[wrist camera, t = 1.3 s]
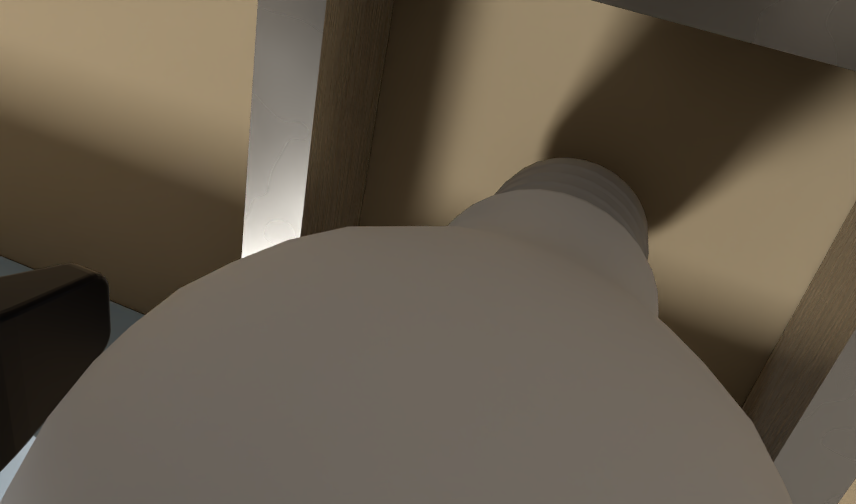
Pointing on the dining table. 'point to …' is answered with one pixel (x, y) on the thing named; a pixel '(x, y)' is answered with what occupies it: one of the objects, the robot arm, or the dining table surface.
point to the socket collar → (349, 156)
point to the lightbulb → (414, 373)
